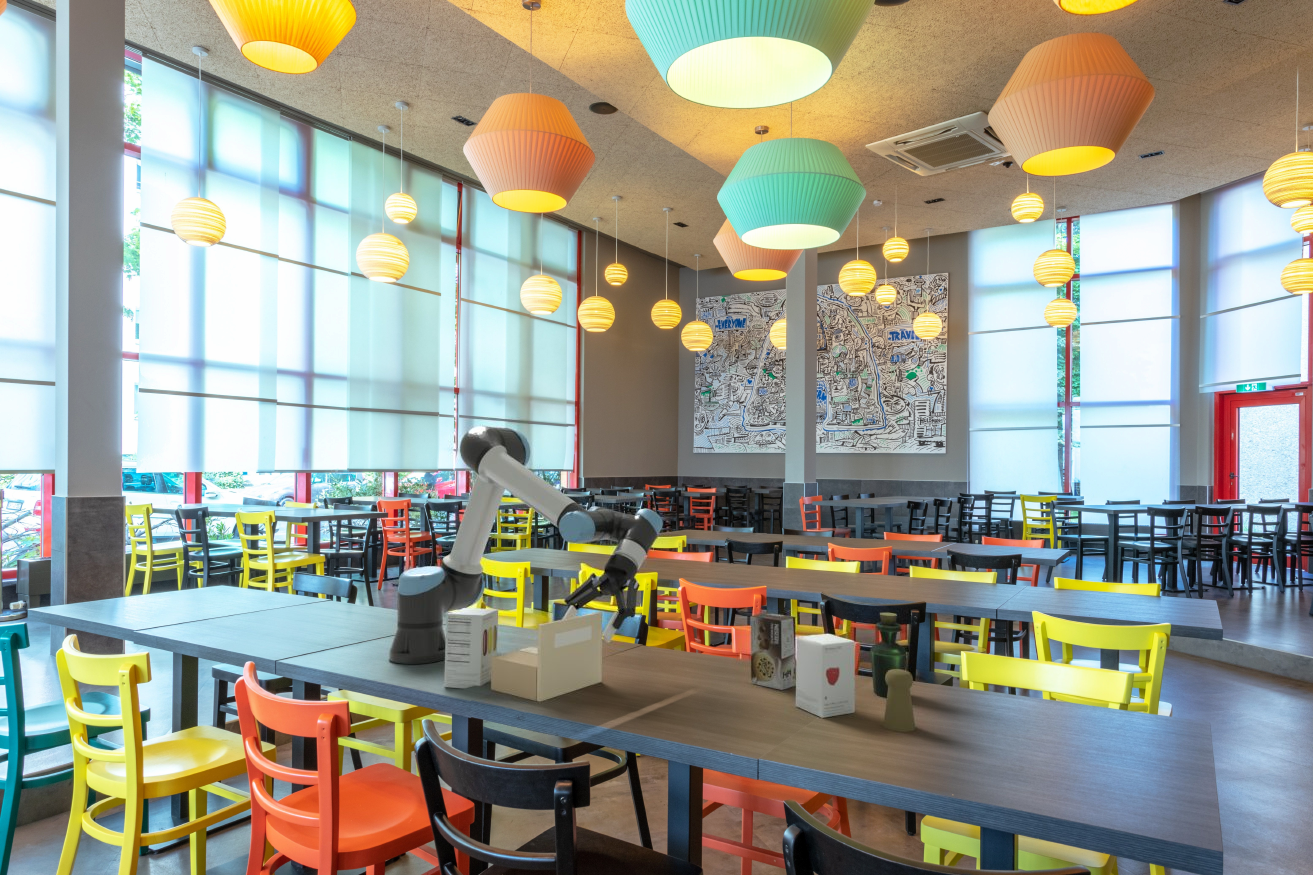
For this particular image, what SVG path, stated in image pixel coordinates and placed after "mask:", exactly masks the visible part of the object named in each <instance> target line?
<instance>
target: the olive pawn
mask: <svg viewBox="0 0 1313 875" xmlns="http://www.w3.org/2000/svg"><path fill="white" fill-rule="evenodd" d="M885 680H886V684H887V685H888V693H887V697H886V702H885V710H884V716H883V727H884V728H885V729H887V730H890V731H893V732H901V733H907V732H914V731H916V723H915V714H914V709H913V708H914V707H913V702H912V701H913V700H912V694H911V688H912V686H913V682H914V678H913V675H912V673H911V672H910V671H908V670H906V671H905V670H901V669H892V670H889V671H888V672H887V673H886V676H885Z"/></svg>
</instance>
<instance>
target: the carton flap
mask: <svg viewBox="0 0 1313 875" xmlns="http://www.w3.org/2000/svg"><path fill="white" fill-rule="evenodd" d="M602 633H603V612H602V611H597V612H591V613H587V614H583V615H577V616H576V617H572V618H567V619H563V618H561V619H558V620H553V621H549V622H545V623H538V625H537V646H538V656H537V702H538V703H539V702H544V701H547V700H550V699H553V698H555V697H559V696H562V695H564V694H568V693H571V692H574V691H577V690H580V689H583V688H586V687H589V686H592V685H593V686H594V685H596V684H599V683H602V672H603V671H602V667H603V665H602V662H603V660H602V656H603V654H602V653H603V637H602V636H601V635H602Z"/></svg>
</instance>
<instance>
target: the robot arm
mask: <svg viewBox="0 0 1313 875" xmlns="http://www.w3.org/2000/svg"><path fill="white" fill-rule="evenodd" d="M459 453H460V457H461V459H462V461H463V462H464V464H465V465H466V466H467V467H468V469H471V470H472V472H474V473H475V475H476V478H475V481H474V483H473V486H472V489H471V491H470V495H469V498H468V501H467V504H466V507H465V510H464V512H463V515H462V519H461V521H460V525H459V528H458V531H457V535H456V537H455V540H454V543H453V546H452V548H451V552H450V553H449V554H448V555H446V556H444V557H443V559H442V561H441V565H440V566H434V565H433V566H431V565H430V566H422V567H414V568H409V569H407V570H405V571H403V572H402V573H401V574H400V576H399V578H398V585H397V619H396V620H397V626H396V628H397V629H396V632H395V635H394V637H393V641H392V643H391V646H390V647H389V648H390V649H389V651H388V652H389V656H388V658H389V661H391V662H392V663H397V664H403V665H405V664H406V665H419V664H429V663H430V664H431V663H435V662H436V663H437V662H439V661H443V660H444V661H445V646H446V632H445V630H444V627H443V626H444V624H443V623H444V613H445V614H446V613H450V612H454V611H457V610H460V609H462V608H470V607H472V606H474V605H475V604H477V603H478V602H479V601H480V599H481V598H482V596H483V594H484V592H485V589H486V581H485V580H484V578H485V575H484V574H483V571H484V567H483V565H482V564H481V561H482V558H483V556H484V555H483V554H484V553H485V552H484V551H485V550H486V547H487V543H488V541H489V537H490V535H491V533H492V529H493V526H494V522H495V520H496V518H497V514H498V511H499V508H500V505H501V503H502V500H503V497H504V494H505V491H507V492H508V493H510V494H511V495H512V496H514V497H515V498H516V499H518V500H519V501H521V502H522V503H523V504H525V505H526V506H528V507H529V508H531V510H534V512H536V513H538V514H539V515H540V516H542V517H543V518H544V519H546V520H547V521H548V522H550V523H551V524H552V525H554V526H555V527H556V528H558V531H559V533H560V536H561V537H562V539H563V540H564V541H565V542H567V543H570V544H580V545H581V544H585V543H590V542H595V541H603V540H608V541H612V542H616V543H618V544H617V545H616V546H615V549H614V550H613V552H612V555H611V556H610V557H609V559H608V560H607V562H606V564H605V565H604V571H603V573H602V574H601V575H600V576H598V575H596V573H595V572H593V573H590V575H589V577H588V578H586V580H585V581H584V582H583V583H581V585H580V586H578V587H577V588H576V589H575V590H574V591H572V592H571V593H570V594H569V595H568V596H567V597H566V598H565V599H564V603H565V604H566V605H567V608H566V610H565V612H564V613H563V615H562V619H567V618H572V617H577V616H578V615H579V612H578V610H580V609H581V608H582V607H584V606H586V605H587V604H589V603H591V602H592V601H594V600H595V599H597V598H601V597H603V596H610V597H615V601H616V606H617V611H614V612H613V614H612V615H611V617H610V619H609V621H608V622H607V624H606V626H605V627H604V630H602V635H601V636H602V639H603V640H604V641H605V643H607V644H609V643H611V641H612V639H613V637H614V635H615V633H616V632H617V630H620V628H621V627H622V624H623V623H624V621H625V619H627V618H629V617H630V618H634V617H635V616H636V610H637V609H636V608H637V592H638V590H639V588H640V586H641V585H640V583H639V582H638V580H637V578H635V577H636V575H637V574H638V570H639V569H640V568H641V566H642V565H643V562H644V561H645V560H646V557H647V555H648V553H649V551H650V550H651V548H652V546H653V545H654V543H655V541H656V540H657V539H658V538H659V534H660V532H661V530H662V528H663V524H664V522H663V520H662V518H661V516H660V515H659V513H657V512H656V511H654V510H653V509H649V508H640V509H639V510H638V511H637V512H636V513H635V514H634V515H633V514H628V513H623V512H619V511H616V510H613V509H610V508H607V507H601V506H595V505H594V506H591V507H589V509H585V508H584V507H583V506H581V505H580V504H578V503H577V502H576V501H574V500H573V499H571V498H570V497H569V496H567V495H566V494H565V493H563V492H561V491H560V489H557V487H554V486H553V485H551V484H550V483H549V482H547V481H546V480H544V479H543V478H542V477H540V476H539V475H538V474H536V473H534V472H533V471H532V470H530V469H529V468H528V467H526V466H527V464H528V463H529V461H530V457H531V446H530V443H529V441H528V438H526V435H524V434H523V433H522V432H520V431H519V430H515V429H511V428H509V427H498V426H497V427H493V426H487V425H479V426H475V427H473V428H471V429H469V430H467V432H466V433H464V435H463V436H462V438H461V441H460V444H459ZM625 589H627V593H626V594H627V595H626V600H625V595H624V590H625Z"/></svg>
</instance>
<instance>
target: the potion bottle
mask: <svg viewBox="0 0 1313 875" xmlns="http://www.w3.org/2000/svg"><path fill="white" fill-rule="evenodd" d="M879 616H880V622H877V623H876V624H875V628H874V629H875V630H876V631H879V633H880V638H881V641H879V642H877V643H875V644H873V645H872V646H871V648H870V650H869V652H870V661H871V662H870V663H871V674H872V687H873V693H874V694H875V696H879V697H881V698H882V697H883V698H887V693H888V685H887V684H886V680H885V676H886V673H887V672H888V671H889V670H892V669H901V670H905V671H907V658H908V653H907V652H908V651H906V649H905V647H903V646H902V645H900V644H899V643H897V642H896V637H897V635H898V632H901V631H903V630H902V627H901V624H900V623H897V617H898V615H897V614H896V613H893V612H879Z"/></svg>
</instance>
